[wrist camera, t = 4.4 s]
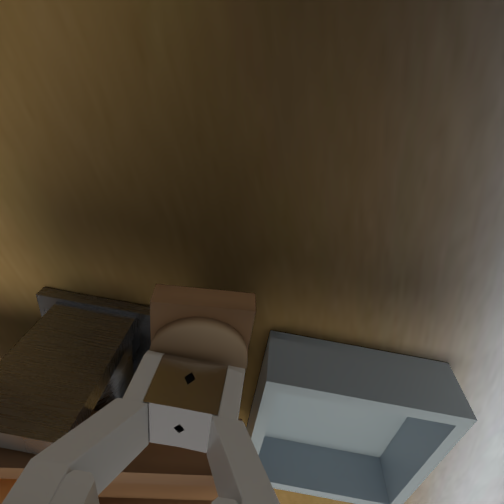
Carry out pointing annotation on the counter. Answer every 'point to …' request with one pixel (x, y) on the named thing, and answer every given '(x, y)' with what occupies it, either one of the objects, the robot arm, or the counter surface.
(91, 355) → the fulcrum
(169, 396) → the robot arm
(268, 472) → the tray
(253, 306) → the lever
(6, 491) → the ball
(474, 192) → the counter surface
